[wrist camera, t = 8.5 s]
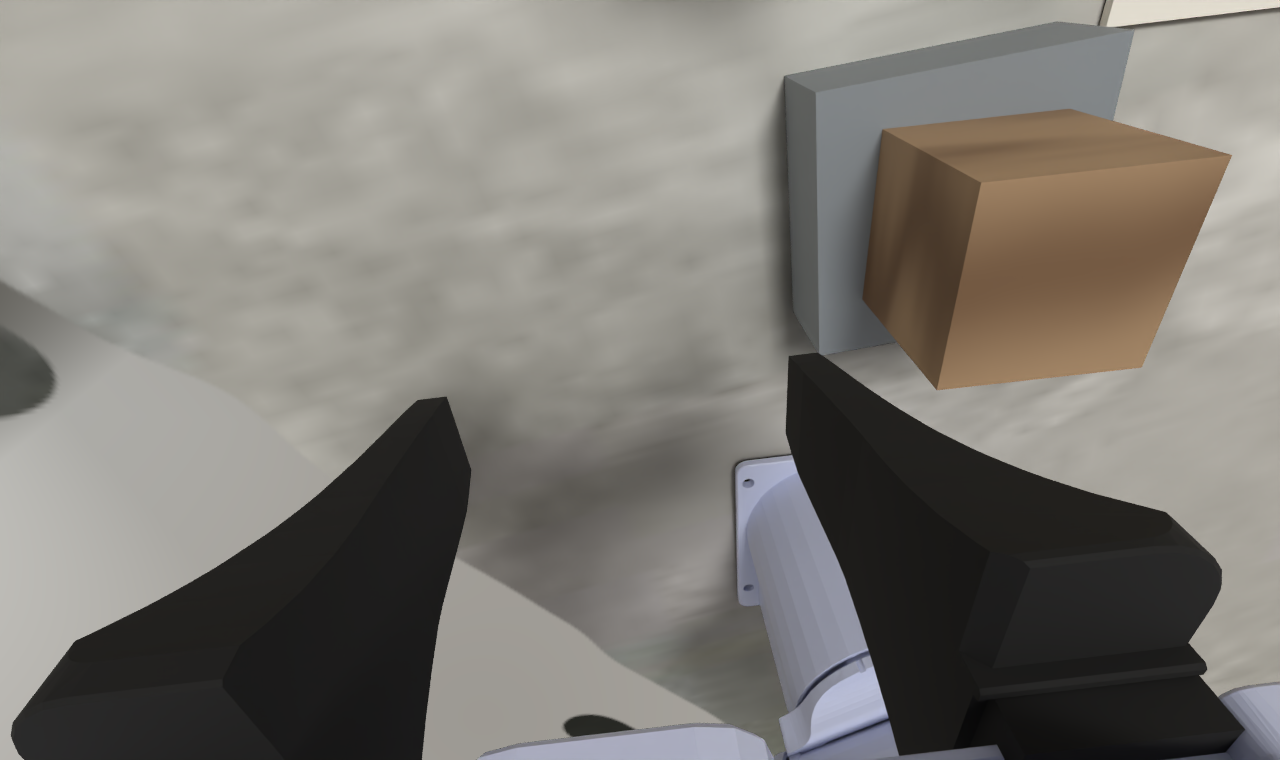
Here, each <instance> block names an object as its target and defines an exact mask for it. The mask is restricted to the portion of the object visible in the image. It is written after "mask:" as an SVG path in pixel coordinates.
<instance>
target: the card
mask: <svg viewBox="0 0 1280 760" xmlns="http://www.w3.org/2000/svg"><path fill="white" fill-rule="evenodd" d="M1276 7H1280V0H1106V3H1105V7H1104V10H1103V14H1102V18H1101V21H1100V25H1099V26H1104V27H1118V26H1126V25H1134V24H1143V23H1151V22H1159V21H1168V20H1176V19H1184V18H1193V17H1201V16H1209V15H1218V14H1226V13H1234V12H1243V11H1251V10H1259V9H1268V8H1276Z"/></svg>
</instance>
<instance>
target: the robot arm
mask: <svg viewBox="0 0 1280 760" xmlns="http://www.w3.org/2000/svg"><path fill="white" fill-rule="evenodd" d="M786 436H787V439H788V442H789V446H790V449H791V453H792V455H789V456H781V457H772V458H764V459H755V460H747V461H743V462H741V463H739V464H738V465H737V466H736V469H735V494H736V546H737V596H738V600H739V603H740V604H741V605H743V606H755V605H760V607H761V611H762V615H763V619H764V622H765V626H766V630H767V634H768V638H769V642H770V645H771V649H772V653H773V657H774V661H775V664H776V668H777V672H778V676H779V680H780V684H781V687H782V691H783V695H784V699H785V703H786V706H787V709H788V712H789V713H788V714H786V715H784V716H782V717H780V718H779V724H780V728H781V732H782V736H783V740H784V744H785V748H786V751H784V752H781V753H778V754H777V755H776V756H774V757H773V756H772V754H771V752H770V750H769V748H768V746H767V744H766V743H765V741H764V739H762V738H761V737H759V736H758V735H756V734H754V733H751V732H749V731H746V730H744V729H741V728H739V727H736V726H734V725H731V724H715V723H711V724H710V723H689V724H680V725H672V726H663V727H655V728H646V729H638V730H629V731H621V732H612V733H603V734H595V735H586V736H578V737H569V738H561V739H552V740H544V741H535V742H527V743H519V744H515V745H511V746H507V747H504V748H500V749H496V750H493V751H489V752H485V753H484V754H483V755H481V756H480V757H479V758H478V759H476V760H1280V682H1273V683H1264V684H1256V685H1247V686H1243V687H1239V688H1234V689H1232V690H1230V691H1228V692H1226V693H1223V694H1221V695H1220V696H1219V697H1217V696H1216V695H1215V693H1214V692H1213V691H1212V690H1211V689H1210V688H1209V686H1208V685H1207V684H1206V683H1205V682H1204V681H1203V679H1202V678H1201V677H1200V676H1199V675H1204V673H1205V672H1206V670H1207V666H1206V663H1205V661H1204V660H1203V659H1202V658H1201V657H1200V656H1199V655H1198V653H1197V652H1196V651H1195V650H1194V649H1193V648H1192V647H1191V645H1190V644H1189V643H1188V642H1189V641H1190V639H1191V638H1192V636H1193V635H1194V633H1195V632H1196V630H1197V629H1198V627H1199V626H1200V624H1201V623H1202V621H1203V620H1204V618H1205V617H1206V615H1207V614H1208V612H1209V611H1210V609H1211V608H1212V606H1213V605H1214V602H1215V600H1216V598H1217V596H1218V594H1219V592H1220V589H1221V585H1222V569H1221V568H1220V566H1219V564H1218V563H1217V561H1216V559H1215V558H1214V557H1213V556H1212V555H1211V554H1210V553H1209V552H1208V551H1207V550H1206V549H1205V548H1204V547H1202V546H1201V545H1200V544H1199V543H1198V542H1197V541H1196V540H1195V539H1194V538H1193V537H1192V536H1191V535H1190V534H1189V533H1188V532H1187V531H1186V530H1185V529H1183V528H1182V527H1181V526H1180V525H1179V524H1178V523H1177V522H1176V521H1175V520H1174V519H1173V518H1172V517H1171V516H1169V515H1168V514H1167V513H1166V512H1163V511H1159V510H1155V509H1151V508H1148V507H1144V506H1140V505H1136V504H1132V503H1128V502H1124V501H1120V500H1117V499H1113V498H1109V497H1105V496H1101V495H1097V494H1094V493H1090V492H1087V491H1084V490H1081V489H1078V488H1075V487H1071V486H1068V485H1065V484H1062V483H1059V482H1056V481H1053V480H1050V479H1047V478H1044V477H1041V476H1038V475H1036V474H1033V473H1030V472H1027V471H1025V470H1022V469H1019V468H1017V467H1015V466H1012V465H1010V464H1007V463H1005V462H1002V461H1000V460H997V459H995V458H992V457H990V456H988V455H985V454H983V453H981V452H978V451H976V450H974V449H972V448H970V447H968V446H966V445H964V444H962V443H960V442H958V441H956V440H954V439H952V438H950V437H948V436H945V435H943V434H941V433H940V432H938V431H936V430H934V429H932V428H930V427H929V426H927V425H925V424H923V423H922V422H920V421H918V420H917V419H915V418H913V417H912V416H910V415H908V414H907V413H905V412H903V411H902V410H900V409H898V408H897V407H895V406H894V405H892V404H891V403H889V402H887V401H886V400H884V399H883V398H881V397H880V396H878V395H877V394H876V393H874V392H873V391H871V390H870V389H868V388H867V387H865V386H864V385H863V384H861V383H860V382H858V381H857V380H856V379H854V378H853V377H851V376H850V375H849V374H847V373H846V372H844V371H843V370H842V369H840V368H839V367H838V366H836V365H835V364H833V363H832V362H831V361H829V360H828V359H827V358H825V357H824V356H822V355H821V354H819V353H811V354H802V355H794V356H789V363H788V388H787V413H786ZM470 478H471V468H470V465H469V462H468V459H467V456H466V453H465V450H464V447H463V444H462V441H461V438H460V435H459V432H458V429H457V426H456V423H455V420H454V417H453V414H452V411H451V408H450V405H449V402H448V399H447V397H440V398H431V399H423V400H417V401H416V402H415V403H414V404H413V405H412V406H411V407H410V408H408V409H407V410H406V411H405V412H404V413H403V414H402V415H401V416H400V417H399V418H398V419H397V420H396V421H395V422H394V423H393V424H392V425H391V426H390V427H389V428H388V429H387V430H386V431H385V432H384V433H383V434H382V435H381V436H380V437H379V438H378V439H377V440H376V441H375V442H374V443H373V444H372V445H371V446H370V447H369V448H368V449H367V450H366V451H365V452H364V453H363V454H362V455H361V456H360V457H359V458H358V459H357V460H356V461H355V462H354V463H353V464H352V465H350V466H349V467H348V468H347V469H346V470H345V471H344V472H343V473H342V474H341V475H339V476H338V477H337V478H336V479H335V480H334V481H333V482H332V483H331V484H329V485H328V486H327V487H326V488H325V489H324V490H323V491H322V492H321V493H319V494H318V495H317V496H316V497H315V498H313V499H312V500H311V501H310V502H308V503H307V504H306V505H305V506H304V507H302V508H301V509H300V510H298V511H297V512H296V513H294V514H293V515H292V516H291V517H289V518H288V519H287V520H286V521H284V522H283V523H281V524H280V525H279V526H278V527H276V528H275V529H273V530H272V531H270V532H269V533H268V534H266V535H265V536H263V537H262V538H260V539H259V540H257V541H256V542H254V543H253V544H251V545H250V546H248V547H247V548H245V549H243V550H242V551H240V552H239V553H238V554H236V555H234V556H233V557H231V558H230V559H228V560H227V561H225V562H224V563H222V564H221V565H219V566H217V567H216V568H214V569H212V570H211V571H209V572H207V573H206V574H204V575H202V576H201V577H199V578H197V579H195V580H194V581H192V582H191V583H188V584H187V585H185V586H183V587H181V588H180V589H178V590H176V591H174V592H173V593H171V594H169V595H167V596H165V597H163V598H161V599H160V600H158V601H156V602H154V603H152V604H150V605H148V606H147V607H144V608H142V609H140V610H138V611H136V612H134V613H132V614H130V615H128V616H126V617H124V618H122V619H120V620H118V621H116V622H114V623H112V624H110V625H108V626H106V627H104V628H102V629H100V630H98V631H96V632H94V633H92V634H89V635H87V636H85V637H83V638H81V639H79V640H76V641H75V642H74V643H73V645H72V646H71V647H70V649H69V650H68V651H67V652H66V654H65V655H64V656H63V658H62V659H61V660H60V662H59V663H58V664H57V665H56V667H55V668H54V669H53V671H52V672H51V673H50V675H49V676H48V677H47V679H46V680H45V681H44V682H43V684H42V685H41V686H40V688H39V689H38V690H37V692H36V693H35V694H34V696H33V697H32V698H31V699H30V701H29V702H28V703H27V705H26V706H25V707H24V709H23V710H22V711H21V713H20V714H19V715H18V717H17V718H16V719H15V720H14V722H13V725H12V731H11V737H12V740H13V743H14V745H15V747H16V749H17V751H18V754H19V755H20V756H21V757H22V758H23V759H24V760H422V752H423V742H424V731H425V721H426V713H427V704H428V696H429V688H430V680H431V672H432V664H433V658H434V651H435V644H436V638H437V631H438V624H439V620H440V615H441V610H442V606H443V602H444V598H445V594H446V590H447V586H448V582H449V579H450V575H451V571H452V567H453V564H454V560H455V556H456V552H457V548H458V545H459V541H460V537H461V533H462V529H463V525H464V521H465V517H466V512H467V505H468V497H469V488H470ZM746 479H751V480H750V481H747V482H744V480H746Z"/></svg>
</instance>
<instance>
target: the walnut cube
mask: <svg viewBox="0 0 1280 760" xmlns="http://www.w3.org/2000/svg"><path fill="white" fill-rule="evenodd" d="M1231 156H1232V155H1230V154H1226V153H1223V152H1219V151H1216V150H1212V149H1209V148H1205V147H1202V146H1198V145H1195V144H1191V143H1188V142H1184V141H1181V140H1177V139H1174V138H1170V137H1167V136H1163V135H1160V134H1156V133H1153V132H1149V131H1146V130H1142V129H1139V128H1136V127H1132V126H1129V125H1125V124H1122V123H1118V122H1115V121H1111V120H1108V119H1104V118H1101V117H1097V116H1094V115H1090V114H1087V113H1083V112H1080V111H1076V110H1073V109H1062V110H1053V111H1044V112H1034V113H1025V114H1016V115H1007V116H998V117H989V118H980V119H970V120H961V121H952V122H943V123H934V124H925V125H916V126H906V127H897V128H888V129H883V130H882V138H881V146H880V155H879V163H878V171H877V180H876V188H875V197H874V205H873V213H872V222H871V230H870V238H869V247H868V255H867V263H866V272H865V280H864V289H863V297H862V300H863V301H864V302H865V303H866V305H867V306H868V307H869V308H870V310H871V311H872V312H873V313H874V314H875V316H876V317H877V318H878V319H879V320H880V322H881V323H882V324H883V325H884V327H885V328H886V329H887V330H888V331H889V333H890V334H891V335H892V336H893V337H894V339H895V340H896V341H897V342H898V344H899V345H900V346H901V347H902V348H903V350H904V351H905V352H906V353H907V354H908V356H909V357H910V358H911V359H912V361H913V362H914V363H915V364H916V365H917V367H918V368H919V369H920V370H921V371H922V373H923V374H924V375H925V376H926V378H927V379H928V380H929V381H930V382H931V384H932V385H933V386H934V387H935V389H936V390H943V389H952V388H961V387H970V386H979V385H988V384H997V383H1006V382H1015V381H1024V380H1033V379H1042V378H1051V377H1060V376H1069V375H1078V374H1087V373H1096V372H1105V371H1114V370H1123V369H1132V368H1141V367H1142V365H1143V363H1144V361H1145V358H1146V356H1147V354H1148V351H1149V349H1150V346H1151V344H1152V342H1153V339H1154V337H1155V335H1156V332H1157V330H1158V328H1159V325H1160V323H1161V321H1162V318H1163V316H1164V314H1165V311H1166V309H1167V307H1168V304H1169V302H1170V300H1171V297H1172V295H1173V292H1174V290H1175V288H1176V285H1177V283H1178V281H1179V278H1180V276H1181V274H1182V271H1183V269H1184V267H1185V264H1186V262H1187V260H1188V257H1189V255H1190V253H1191V250H1192V248H1193V246H1194V243H1195V241H1196V238H1197V236H1198V234H1199V231H1200V229H1201V227H1202V224H1203V222H1204V220H1205V217H1206V215H1207V213H1208V210H1209V208H1210V206H1211V203H1212V201H1213V199H1214V196H1215V194H1216V192H1217V189H1218V187H1219V184H1220V182H1221V180H1222V177H1223V175H1224V173H1225V170H1226V168H1227V166H1228V163H1229V161H1230V159H1231Z"/></svg>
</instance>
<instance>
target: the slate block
mask: <svg viewBox="0 0 1280 760" xmlns="http://www.w3.org/2000/svg"><path fill="white" fill-rule="evenodd" d="M1133 34H1134V30H1133V29H1123V28H1114V27H1104V26H1094V25H1085V24H1075V23H1065V22H1053V23H1048V24H1043V25H1038V26H1033V27H1028V28H1023V29H1018V30H1013V31H1007V32H1002V33H997V34H992V35H987V36H982V37H977V38H972V39H967V40H962V41H957V42H952V43H947V44H942V45H937V46H932V47H927V48H922V49H917V50H912V51H907V52H902V53H897V54H892V55H887V56H882V57H876V58H871V59H866V60H861V61H856V62H851V63H846V64H841V65H836V66H831V67H826V68H821V69H816V70H811V71H806V72H801V73H796V74H791V75H786V76H784V81H785V107H786V134H787V160H788V187H789V213H790V239H791V266H792V292H793V312H794V314H795V316H796V317H797V319H798V321H799V322H800V324H801V326H802V328H803V329H804V331H805V333H806V334H807V336H808V338H809V339H810V341H811V343H812V344H813V346H814V348H815V349H816V351H817V353H819V354H821V355H827V354H833V353H839V352H844V351H850V350H855V349H861V348H866V347H872V346H878V345H883V344H889V343H894V342H897V341H896V340H895V339H894V337H893V336H892V335H891V334H890V333H889V331H888V330H887V329H886V328H885V327H884V325H883V324H882V323H881V322H880V320H879V319H878V318H877V317H876V316H875V314H874V313H873V312H872V311H871V310H870V308H869V307H868V306H867V305H866V303H865V302H864V301H863V300H862V297H863V289H864V280H865V272H866V263H867V255H868V247H869V238H870V230H871V222H872V213H873V205H874V197H875V188H876V180H877V171H878V163H879V155H880V146H881V138H882V130H883V129H888V128H897V127H906V126H916V125H925V124H934V123H943V122H952V121H961V120H970V119H980V118H989V117H998V116H1007V115H1016V114H1025V113H1034V112H1044V111H1053V110H1062V109H1073V110H1076V111H1080V112H1083V113H1087V114H1090V115H1094V116H1097V117H1101V118H1104V119H1108V120H1111V121H1113V118H1114V114H1115V110H1116V106H1117V102H1118V97H1119V93H1120V89H1121V85H1122V81H1123V76H1124V72H1125V68H1126V64H1127V60H1128V55H1129V51H1130V47H1131V43H1132V38H1133Z"/></svg>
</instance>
